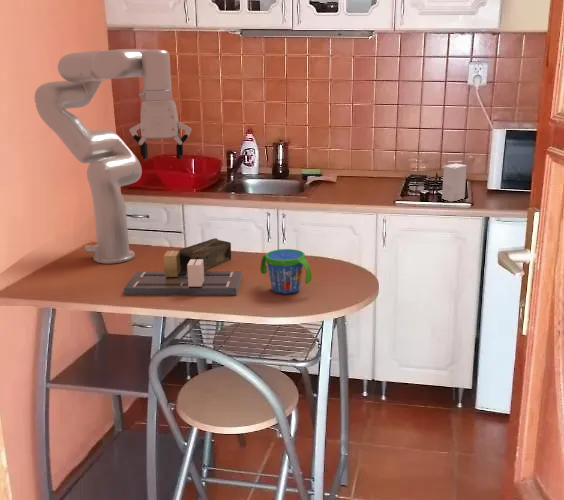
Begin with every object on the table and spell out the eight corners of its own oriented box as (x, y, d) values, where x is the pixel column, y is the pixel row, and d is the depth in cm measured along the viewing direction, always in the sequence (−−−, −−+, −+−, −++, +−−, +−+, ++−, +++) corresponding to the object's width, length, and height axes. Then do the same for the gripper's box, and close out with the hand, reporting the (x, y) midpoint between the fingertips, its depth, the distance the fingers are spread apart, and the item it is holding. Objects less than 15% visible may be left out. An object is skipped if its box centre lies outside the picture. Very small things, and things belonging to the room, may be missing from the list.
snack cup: (251, 288, 186) (250, 253, 183) (278, 279, 193) (277, 244, 190) (294, 302, 176) (293, 264, 173) (320, 291, 183) (320, 255, 180)
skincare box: (453, 197, 290) (455, 162, 285) (465, 200, 285) (467, 164, 281) (441, 200, 285) (442, 165, 280) (452, 203, 280) (455, 167, 276)
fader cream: (188, 286, 182) (187, 264, 180) (191, 280, 186) (190, 259, 185) (201, 286, 182) (200, 264, 180) (204, 280, 186) (203, 258, 185)
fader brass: (164, 276, 190) (163, 255, 188) (168, 270, 194) (167, 250, 193) (177, 276, 190) (176, 255, 188) (180, 270, 194) (179, 250, 193)
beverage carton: (233, 260, 212) (232, 239, 210) (191, 277, 197) (190, 255, 195) (213, 256, 216) (212, 236, 214) (171, 272, 201) (169, 251, 199)
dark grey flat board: (124, 295, 183) (123, 287, 182) (137, 278, 196) (136, 271, 195) (236, 295, 181) (236, 287, 181) (241, 277, 195) (241, 270, 194)
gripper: (123, 97, 184) (128, 160, 189) (187, 97, 184) (190, 160, 189) (130, 95, 192) (135, 156, 197) (191, 95, 191) (195, 156, 196)
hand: (162, 158), depth 193 cm, fingers open, 9 cm apart
